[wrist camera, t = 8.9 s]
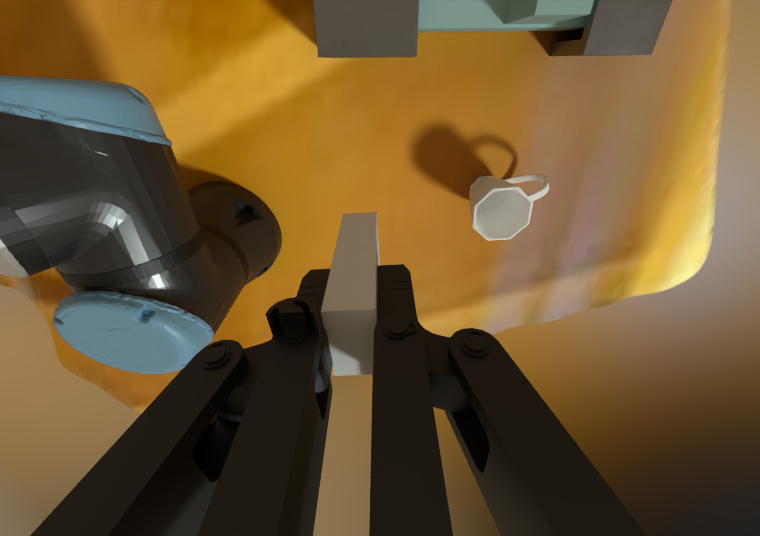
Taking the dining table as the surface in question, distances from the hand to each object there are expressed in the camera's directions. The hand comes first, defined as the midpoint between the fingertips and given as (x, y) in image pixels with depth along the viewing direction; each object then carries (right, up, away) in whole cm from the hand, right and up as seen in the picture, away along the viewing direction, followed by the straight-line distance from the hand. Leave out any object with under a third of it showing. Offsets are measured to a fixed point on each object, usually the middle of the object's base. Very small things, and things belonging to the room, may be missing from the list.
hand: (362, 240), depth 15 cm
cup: (+16, +10, +28) cm, 34 cm away
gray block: (0, +26, +18) cm, 31 cm away
